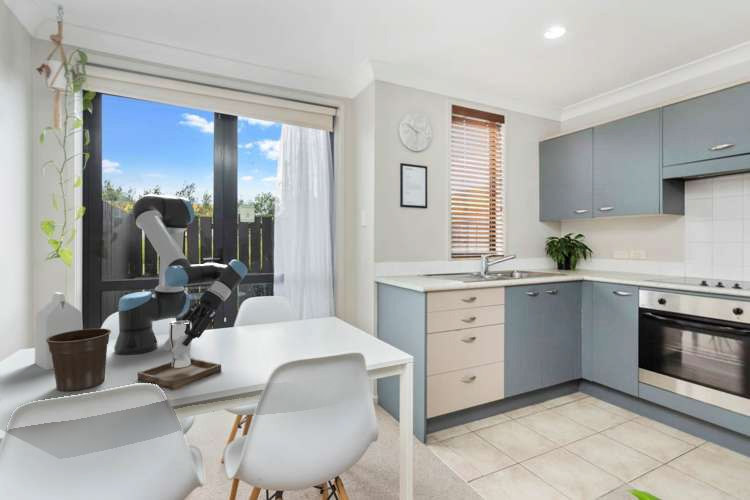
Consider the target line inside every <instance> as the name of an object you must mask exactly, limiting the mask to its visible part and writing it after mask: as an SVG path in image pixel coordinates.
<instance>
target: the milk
mask: <svg viewBox="0 0 750 500" xmlns="http://www.w3.org/2000/svg"><path fill="white" fill-rule="evenodd" d="M83 329H84V325H83V313H82V312H81V311H80V309H78V308H77V307H75V306H74V305H72V304H70V303H69V302H67V301H66V298H65V293H64V292H58V291H57V292H56V291H55V292H53V294H52V299H51V300H50V301H48V302H47V303H46V304H45V305H44V306H43V307H42V308H40V309H39V310H38V311H37V313H36V314H35V335H34V336H35V338H34V339H35V340H34V343H35V344H34V345H35V346H34V364H35V365H37V366H39V367H41V368H43V369H45V370H46V371H48V370H52V369H54V367H53V361H52V355H51V353H50V351H49V345H48V342H46V339H47V338H48V337H50V336H53V335H56V334H60V333H64V332H69V331H75V330H83Z"/></svg>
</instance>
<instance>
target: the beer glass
mask: <svg viewBox="0 0 750 500" xmlns="http://www.w3.org/2000/svg"><path fill="white" fill-rule="evenodd" d="M192 326H193V324H191V321H189V320H181V321H179V320H176V321H171V322H170V323H169V327H168V338H169V341H170V347H171V349H170V351H171V357H172V359H171V362H172V364H171V368H172V369H183V368H187V367H189V366H191V360H190V358H191V347H192V341H193V340H192V341H191V342H190V343H189V345H188V346H187V347H186V348H185V349H184V351H183V352H182V353H181V354H180V356H178V355H177V354H176V353H174V352H173V350H174V348H175V347H176V346H177V345H178V343H179V342H180V341H181V340H182V338H183V337H184V336H185V335H186V334H187V332H190V330H191V328H192ZM187 335H188V334H187Z"/></svg>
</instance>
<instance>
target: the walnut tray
mask: <svg viewBox="0 0 750 500" xmlns="http://www.w3.org/2000/svg"><path fill="white" fill-rule="evenodd" d="M190 360H191V366H189V367H187V368H183V369H172V368H171V364H172V361H169V362H168V363H167V362H166V363H163V364H161V365H158V366H154V367H151V368H148V369H144V370H142V371H139V372H137V381H139V382H142V383H145V382H147V383H146V384H149V383H153V384H157V385H159V386H158V387H159V388H164V389H167V390H170V391H176V390H180V389H181V388H184V387H187V386H189V385H192V384H194V383H196V382H199V381H201V380H204V379H207V378H209V377H211V376H213V375H217V374H219V373H221V372H222V364H221V363H217V362H216V363H215V362H211V361H206V360H201V359H197V358H193V357H190ZM153 384H152V385H153Z"/></svg>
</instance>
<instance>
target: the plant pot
mask: <svg viewBox="0 0 750 500" xmlns="http://www.w3.org/2000/svg"><path fill="white" fill-rule="evenodd" d="M111 333H112V330H111V329H109V328H101V327H100V328H83V330H75V331H69V332H64V333H60V334H56V335H53V336H50V337H48V338H47V339H46V342H48V345H49V351H50V353H51V355H52V361H53V367H54V368H53V372H54V378H55V384H56V389H57V390H58V391H60V392H69V391H70V390H73V391H81V390H84V389H85V390H86V389H89V388H93V387H96V386H97V385H100V384H101V383H102V382H104V381H105V379H106V365H107V354H108V353H107V351H108V345H109V339H110V334H111Z"/></svg>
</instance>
